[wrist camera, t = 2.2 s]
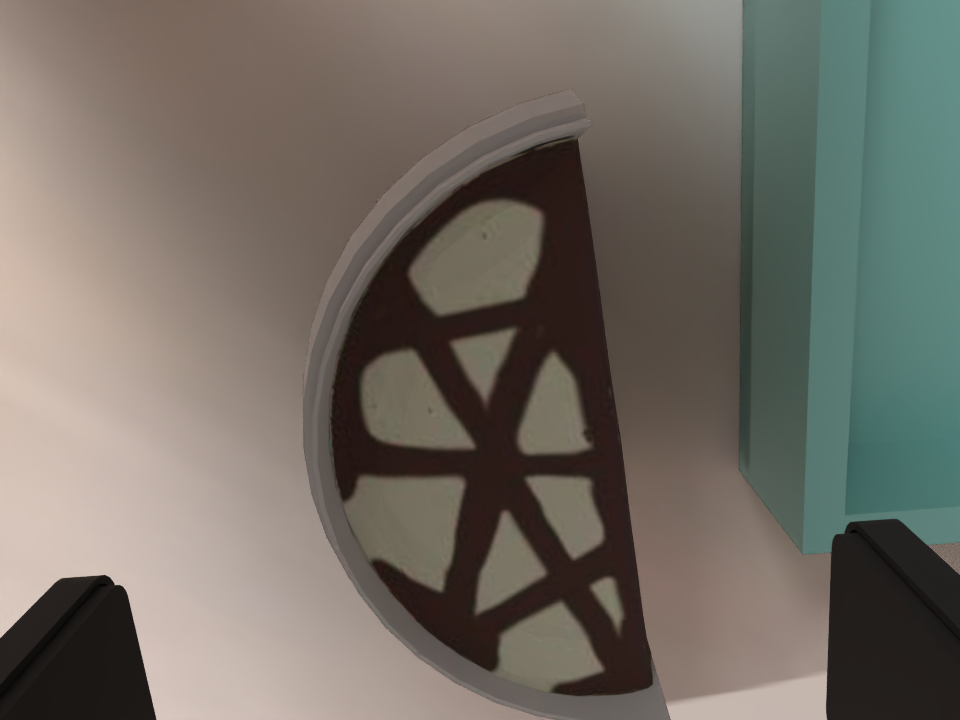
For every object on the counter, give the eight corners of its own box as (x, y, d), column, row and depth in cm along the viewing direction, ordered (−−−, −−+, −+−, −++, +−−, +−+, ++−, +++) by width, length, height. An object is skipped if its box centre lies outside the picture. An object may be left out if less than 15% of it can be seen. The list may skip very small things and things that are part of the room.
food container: (316, 141, 22) (189, 157, 12) (538, 100, 21) (586, 83, 12) (407, 536, 25) (364, 791, 16) (598, 505, 25) (675, 745, 15)
